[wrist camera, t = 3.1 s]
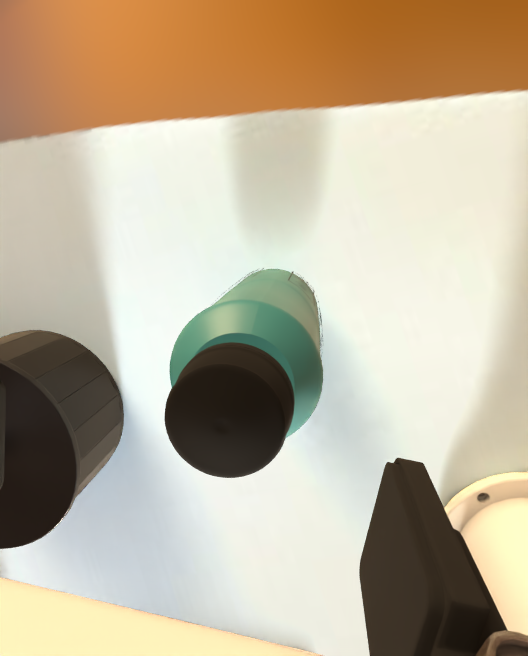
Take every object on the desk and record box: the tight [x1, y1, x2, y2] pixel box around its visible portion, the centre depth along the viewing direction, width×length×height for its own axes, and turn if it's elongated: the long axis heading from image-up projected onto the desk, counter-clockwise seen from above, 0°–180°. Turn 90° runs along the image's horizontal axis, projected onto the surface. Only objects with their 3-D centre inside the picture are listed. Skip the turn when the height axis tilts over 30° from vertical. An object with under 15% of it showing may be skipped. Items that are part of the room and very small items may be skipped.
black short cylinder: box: [0, 330, 124, 497], centre depth 33 cm, size 13×13×8 cm
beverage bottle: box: [165, 269, 323, 478], centre depth 23 cm, size 6×7×20 cm
